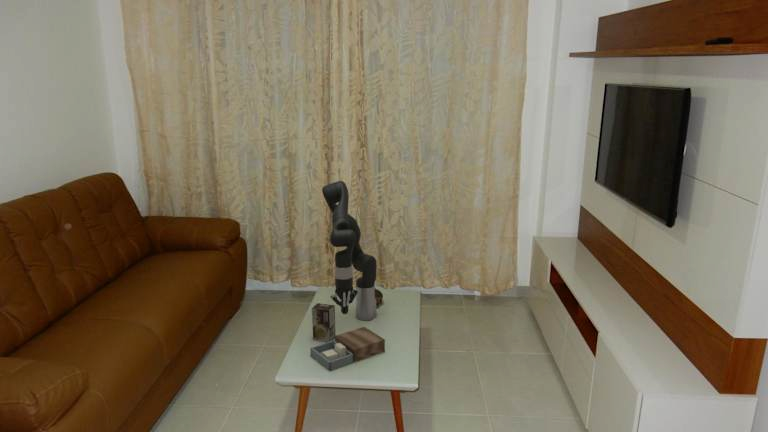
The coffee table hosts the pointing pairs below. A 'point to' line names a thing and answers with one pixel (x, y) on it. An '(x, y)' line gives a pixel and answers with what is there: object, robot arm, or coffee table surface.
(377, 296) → the decorative turtle
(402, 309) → the coffee table surface
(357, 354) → the block
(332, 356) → the front tile
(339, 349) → the rear tile
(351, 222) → the robot arm
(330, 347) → the box
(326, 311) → the coffee box
